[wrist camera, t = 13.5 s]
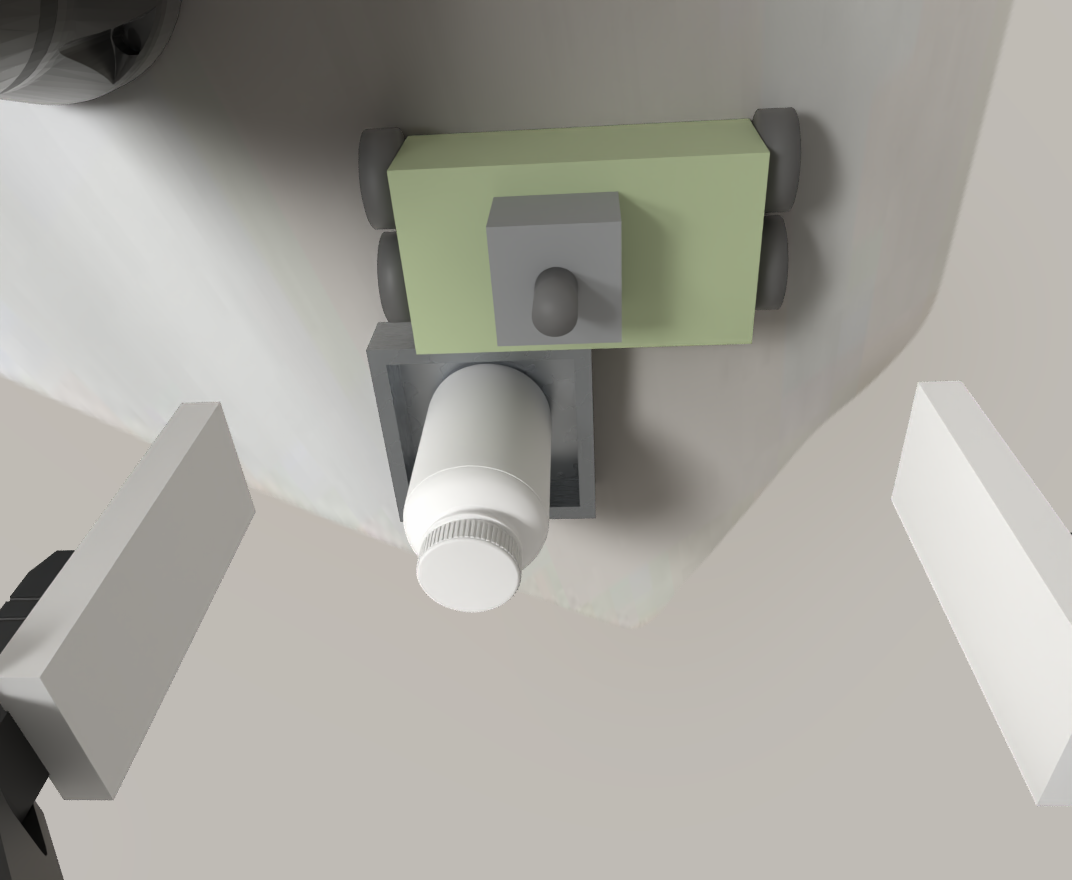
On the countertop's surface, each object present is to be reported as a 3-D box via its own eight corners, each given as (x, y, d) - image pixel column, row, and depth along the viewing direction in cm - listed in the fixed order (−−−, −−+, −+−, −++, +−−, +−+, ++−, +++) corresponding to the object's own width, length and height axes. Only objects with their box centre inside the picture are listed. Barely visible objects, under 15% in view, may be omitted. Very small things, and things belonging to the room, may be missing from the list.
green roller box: (404, 306, 51) (357, 427, 40) (373, 118, 45) (308, 202, 34) (764, 293, 49) (814, 415, 39) (784, 96, 43) (850, 177, 33)
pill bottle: (528, 476, 57) (514, 647, 45) (415, 440, 56) (369, 606, 44) (572, 384, 53) (570, 545, 41) (450, 342, 52) (410, 495, 39)
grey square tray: (409, 489, 59) (400, 521, 56) (378, 322, 52) (366, 350, 49) (595, 485, 58) (595, 518, 55) (590, 315, 51) (590, 343, 48)
